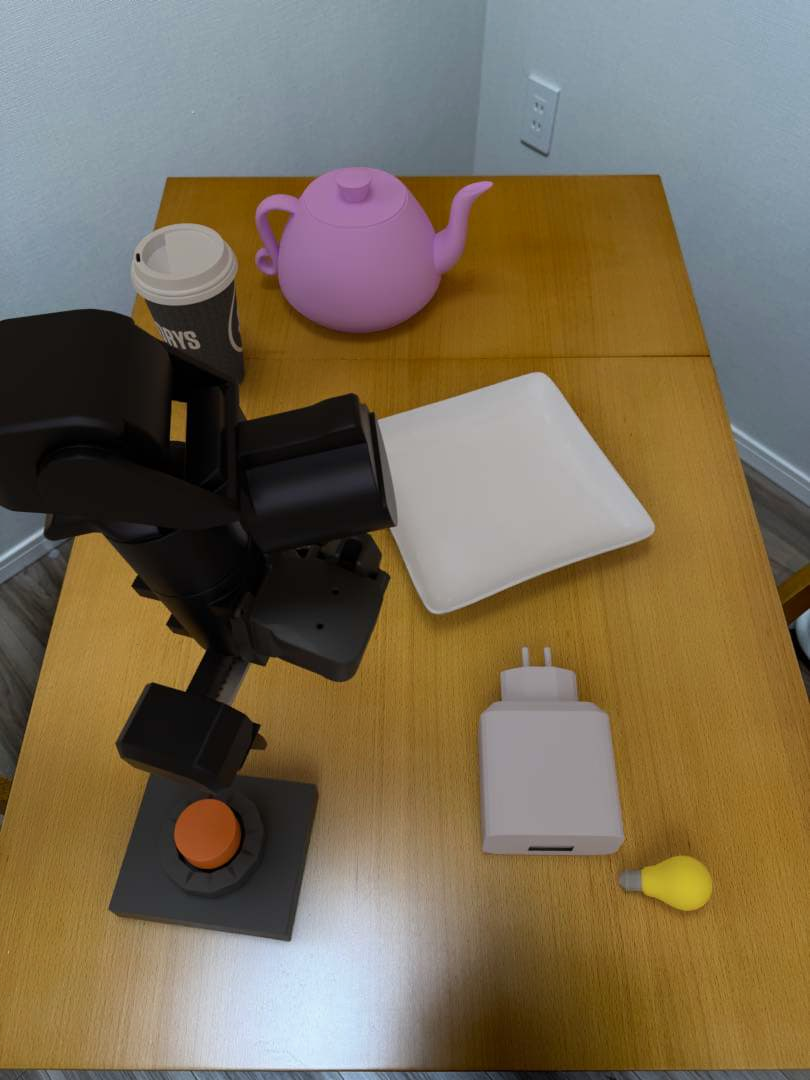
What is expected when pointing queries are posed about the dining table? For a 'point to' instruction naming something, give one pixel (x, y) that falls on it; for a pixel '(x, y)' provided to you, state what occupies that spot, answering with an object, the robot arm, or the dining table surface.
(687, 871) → the light bulb
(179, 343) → the coffee cup
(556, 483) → the plate
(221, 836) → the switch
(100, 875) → the dining table surface
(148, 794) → the switch base
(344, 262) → the teapot
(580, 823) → the charger
